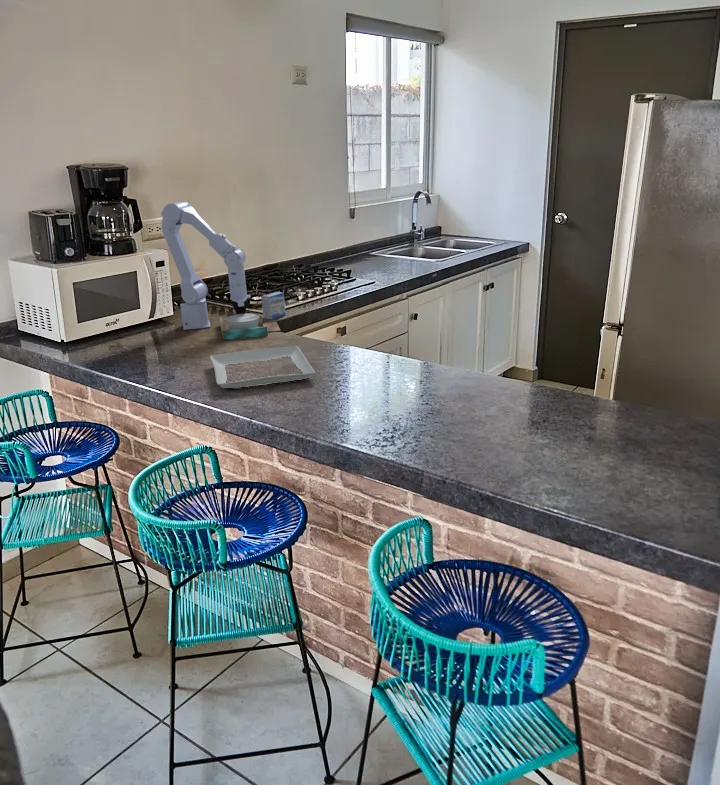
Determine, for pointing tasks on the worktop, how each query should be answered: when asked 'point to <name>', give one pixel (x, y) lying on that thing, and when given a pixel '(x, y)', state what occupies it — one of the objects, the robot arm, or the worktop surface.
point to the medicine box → (273, 305)
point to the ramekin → (242, 321)
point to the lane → (249, 330)
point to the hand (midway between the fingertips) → (241, 321)
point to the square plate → (260, 355)
